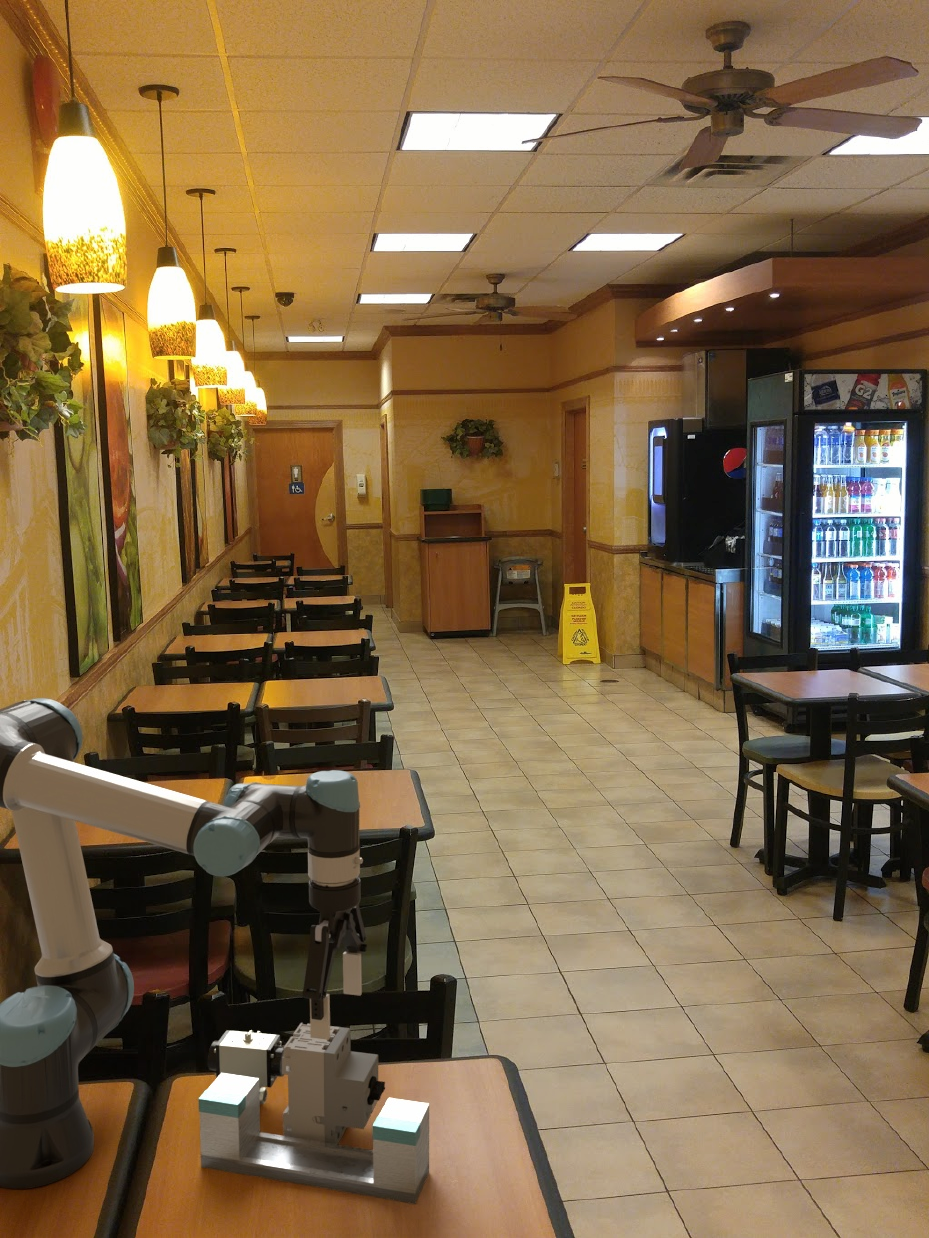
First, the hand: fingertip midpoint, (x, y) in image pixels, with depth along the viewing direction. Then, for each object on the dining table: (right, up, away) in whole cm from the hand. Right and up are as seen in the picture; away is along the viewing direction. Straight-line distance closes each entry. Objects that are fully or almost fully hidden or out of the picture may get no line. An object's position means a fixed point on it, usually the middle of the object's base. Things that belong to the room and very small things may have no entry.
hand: (337, 1014), depth 161 cm
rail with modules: (-3, -20, -6) cm, 21 cm away
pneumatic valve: (-15, -18, +10) cm, 25 cm away
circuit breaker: (0, -19, +3) cm, 19 cm away
